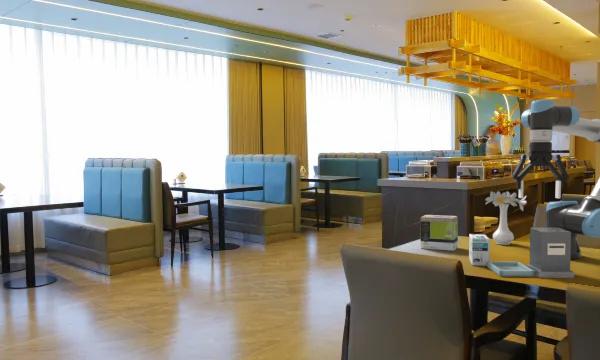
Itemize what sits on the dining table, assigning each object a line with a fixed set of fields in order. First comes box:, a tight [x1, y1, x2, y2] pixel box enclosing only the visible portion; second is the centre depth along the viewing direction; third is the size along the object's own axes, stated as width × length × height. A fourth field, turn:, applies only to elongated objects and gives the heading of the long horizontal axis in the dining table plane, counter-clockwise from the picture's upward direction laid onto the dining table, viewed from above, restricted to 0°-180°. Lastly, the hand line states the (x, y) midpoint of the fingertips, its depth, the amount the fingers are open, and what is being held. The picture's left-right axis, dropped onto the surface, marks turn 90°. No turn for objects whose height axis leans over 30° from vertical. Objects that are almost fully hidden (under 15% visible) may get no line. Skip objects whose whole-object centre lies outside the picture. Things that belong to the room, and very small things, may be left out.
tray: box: [486, 261, 536, 278], centre depth 188 cm, size 12×15×2 cm
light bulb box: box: [468, 233, 491, 267], centre depth 202 cm, size 11×7×11 cm, turn 168°
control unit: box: [525, 227, 575, 279], centre depth 184 cm, size 12×12×16 cm
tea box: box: [419, 214, 459, 252], centre depth 232 cm, size 15×10×15 cm, turn 62°
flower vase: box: [485, 191, 527, 246], centre depth 241 cm, size 13×18×25 cm
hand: (539, 198), depth 192 cm, fingers open, 13 cm apart
